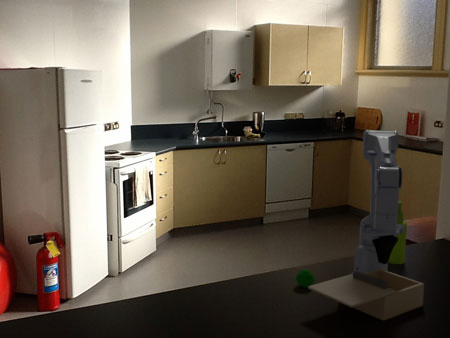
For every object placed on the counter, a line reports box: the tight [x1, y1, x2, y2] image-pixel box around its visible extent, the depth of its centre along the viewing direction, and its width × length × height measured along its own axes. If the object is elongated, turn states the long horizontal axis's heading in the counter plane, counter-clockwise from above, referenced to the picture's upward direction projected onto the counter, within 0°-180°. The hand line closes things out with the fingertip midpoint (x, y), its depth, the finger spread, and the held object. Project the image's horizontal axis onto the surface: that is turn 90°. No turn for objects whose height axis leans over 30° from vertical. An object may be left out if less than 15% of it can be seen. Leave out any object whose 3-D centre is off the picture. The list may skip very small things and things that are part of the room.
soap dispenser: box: [388, 199, 408, 265], centre depth 174 cm, size 6×7×20 cm
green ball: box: [295, 269, 315, 289], centre depth 151 cm, size 5×5×5 cm
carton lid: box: [307, 270, 395, 308], centre depth 132 cm, size 14×16×2 cm
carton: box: [352, 269, 425, 321], centre depth 139 cm, size 14×16×6 cm
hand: (382, 262), depth 141 cm, fingers closed
